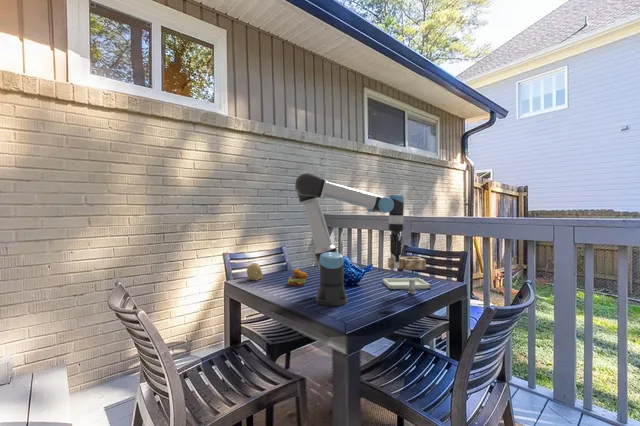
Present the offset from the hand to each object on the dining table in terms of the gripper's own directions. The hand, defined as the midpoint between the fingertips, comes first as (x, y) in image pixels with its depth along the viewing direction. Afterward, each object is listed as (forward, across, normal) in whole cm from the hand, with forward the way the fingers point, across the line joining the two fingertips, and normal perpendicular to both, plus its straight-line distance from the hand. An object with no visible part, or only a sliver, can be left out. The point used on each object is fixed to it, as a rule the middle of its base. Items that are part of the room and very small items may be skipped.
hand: (395, 267), depth 174 cm
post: (+14, 0, -9) cm, 17 cm away
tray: (+14, +16, -11) cm, 24 cm away
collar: (0, 0, -6) cm, 6 cm away
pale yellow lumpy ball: (+15, +37, +79) cm, 88 cm away
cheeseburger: (+15, +24, +52) cm, 59 cm away
